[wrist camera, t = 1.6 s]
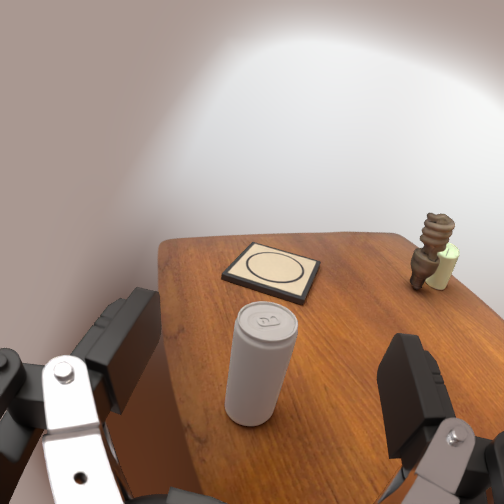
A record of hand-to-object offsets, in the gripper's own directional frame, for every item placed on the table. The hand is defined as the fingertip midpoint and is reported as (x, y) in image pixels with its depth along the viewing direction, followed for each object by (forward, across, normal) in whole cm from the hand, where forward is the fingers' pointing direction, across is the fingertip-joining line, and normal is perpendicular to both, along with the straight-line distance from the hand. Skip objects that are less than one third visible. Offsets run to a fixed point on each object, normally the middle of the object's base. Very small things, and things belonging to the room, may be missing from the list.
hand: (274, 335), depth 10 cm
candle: (+44, -33, +20) cm, 59 cm away
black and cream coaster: (+38, 0, +20) cm, 43 cm away
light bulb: (+41, -26, +20) cm, 53 cm away
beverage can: (+11, 0, +20) cm, 23 cm away
